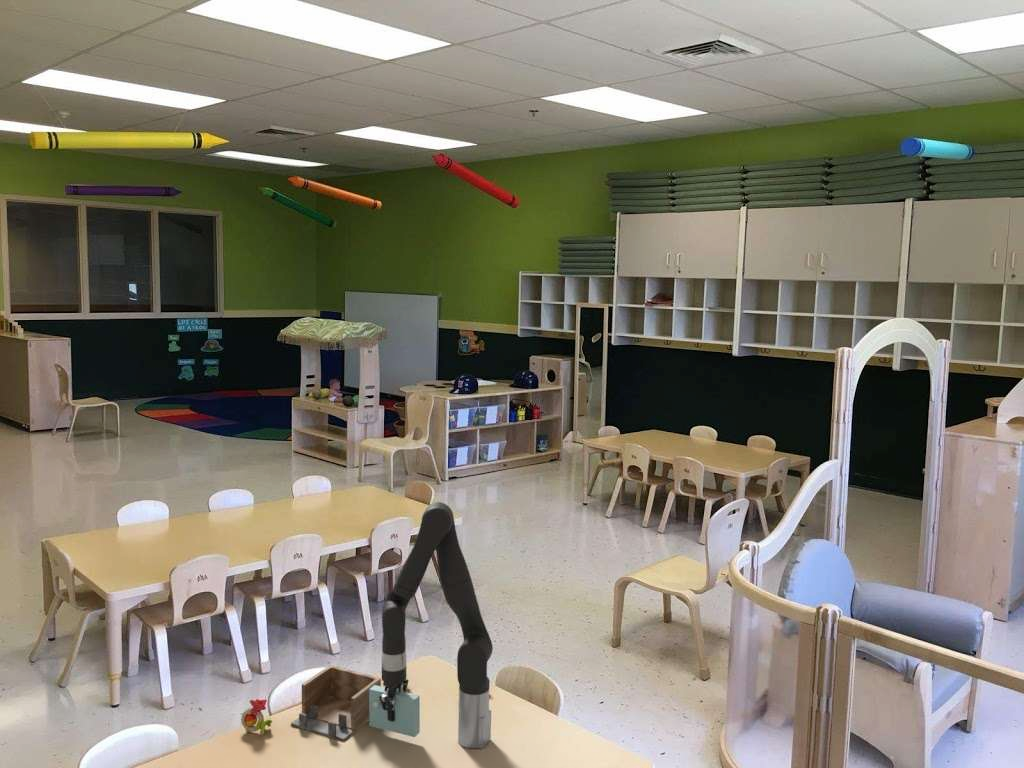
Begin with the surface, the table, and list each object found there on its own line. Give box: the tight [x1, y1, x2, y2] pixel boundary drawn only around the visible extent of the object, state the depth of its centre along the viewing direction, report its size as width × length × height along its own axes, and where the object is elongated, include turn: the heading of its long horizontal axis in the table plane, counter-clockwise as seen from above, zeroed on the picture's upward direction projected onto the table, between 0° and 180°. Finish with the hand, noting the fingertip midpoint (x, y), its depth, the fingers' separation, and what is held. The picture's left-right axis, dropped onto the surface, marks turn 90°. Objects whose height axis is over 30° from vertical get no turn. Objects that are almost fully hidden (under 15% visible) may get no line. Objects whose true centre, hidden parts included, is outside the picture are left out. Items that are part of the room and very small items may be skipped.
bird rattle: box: [240, 699, 273, 737], centre depth 265 cm, size 6×11×9 cm
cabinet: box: [290, 665, 382, 742], centre depth 274 cm, size 20×21×11 cm
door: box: [369, 685, 421, 738], centre depth 263 cm, size 16×4×12 cm, turn 67°
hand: (394, 717), depth 264 cm, fingers closed on door, 3 cm apart
